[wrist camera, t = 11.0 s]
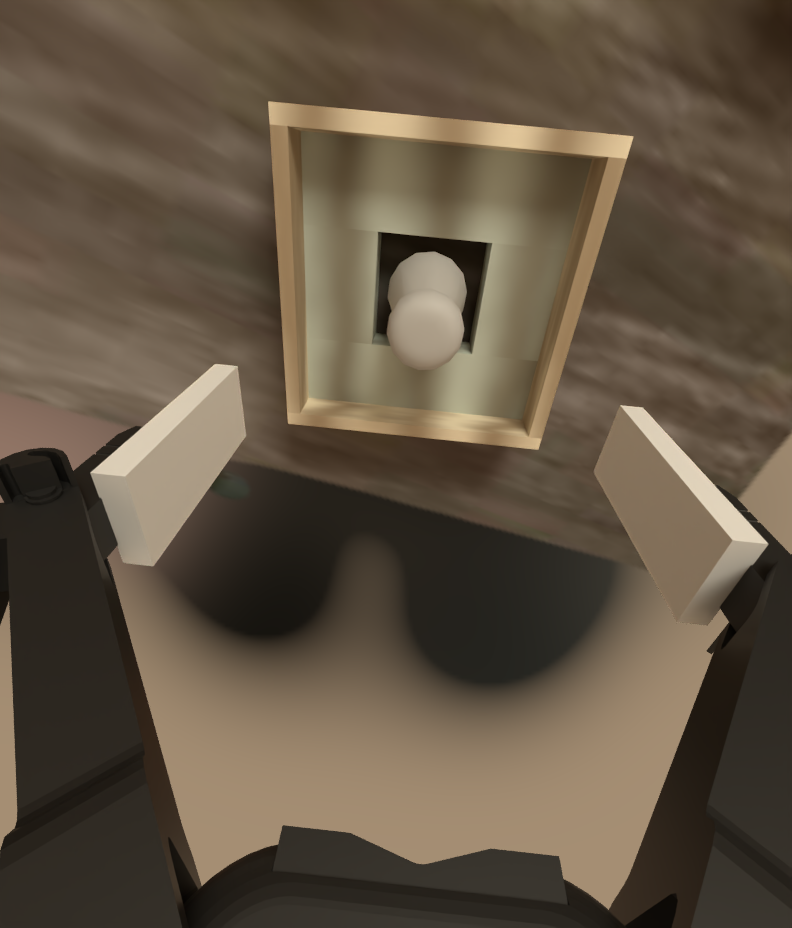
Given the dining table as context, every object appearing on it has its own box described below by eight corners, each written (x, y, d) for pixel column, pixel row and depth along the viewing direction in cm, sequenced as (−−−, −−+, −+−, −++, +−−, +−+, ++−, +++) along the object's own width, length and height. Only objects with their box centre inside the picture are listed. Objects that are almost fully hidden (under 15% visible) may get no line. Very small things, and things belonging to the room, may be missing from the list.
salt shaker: (479, 291, 34) (502, 343, 23) (424, 339, 37) (421, 407, 26) (430, 228, 32) (430, 254, 21) (375, 284, 35) (349, 333, 24)
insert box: (305, 392, 40) (287, 423, 35) (296, 114, 29) (268, 101, 24) (524, 415, 40) (538, 449, 35) (598, 143, 29) (633, 136, 24)
